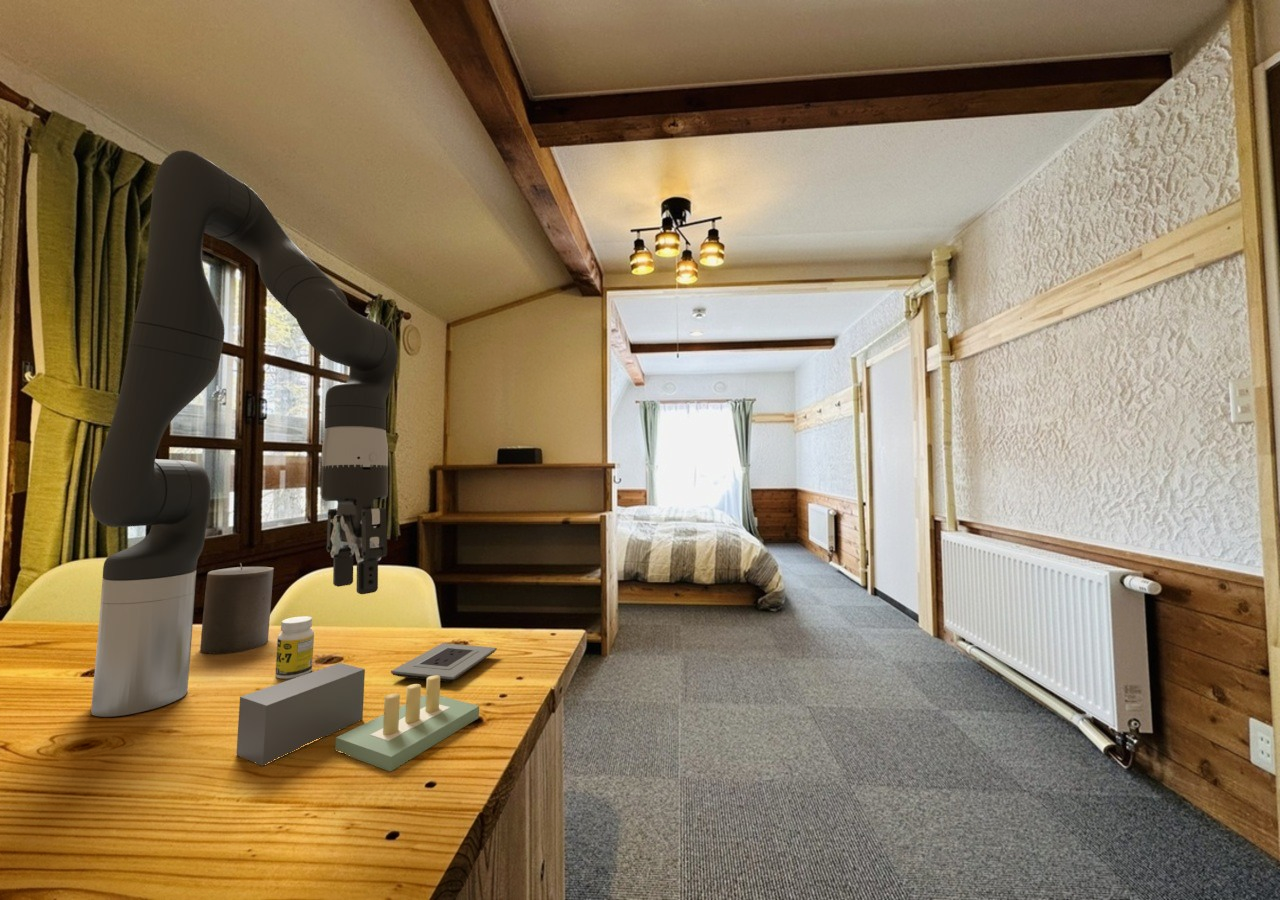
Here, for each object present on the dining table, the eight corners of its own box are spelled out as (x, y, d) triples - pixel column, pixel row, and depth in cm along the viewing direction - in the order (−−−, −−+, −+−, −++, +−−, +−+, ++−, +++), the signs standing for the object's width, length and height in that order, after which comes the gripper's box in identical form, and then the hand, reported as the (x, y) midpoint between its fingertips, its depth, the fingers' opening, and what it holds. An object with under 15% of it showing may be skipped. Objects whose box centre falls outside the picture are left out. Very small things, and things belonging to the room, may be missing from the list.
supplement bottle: (268, 676, 75) (271, 621, 76) (299, 666, 80) (302, 614, 80) (288, 681, 73) (291, 625, 74) (319, 670, 78) (321, 617, 78)
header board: (335, 751, 55) (337, 701, 55) (428, 704, 66) (429, 662, 67) (390, 771, 51) (392, 717, 51) (478, 717, 63) (480, 674, 63)
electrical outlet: (452, 691, 72) (453, 675, 72) (390, 684, 74) (391, 668, 74) (496, 660, 84) (496, 646, 85) (442, 655, 87) (442, 641, 87)
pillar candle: (211, 658, 83) (218, 569, 84) (192, 647, 88) (199, 563, 89) (277, 643, 91) (283, 562, 92) (256, 634, 96) (262, 557, 97)
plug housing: (236, 755, 54) (240, 696, 54) (337, 711, 64) (339, 662, 64) (262, 766, 52) (266, 705, 52) (362, 719, 62) (364, 669, 62)
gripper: (306, 466, 66) (304, 588, 64) (342, 459, 56) (341, 602, 55) (366, 467, 71) (365, 579, 70) (408, 461, 62) (408, 590, 61)
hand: (354, 589), depth 63 cm, fingers open, 8 cm apart
